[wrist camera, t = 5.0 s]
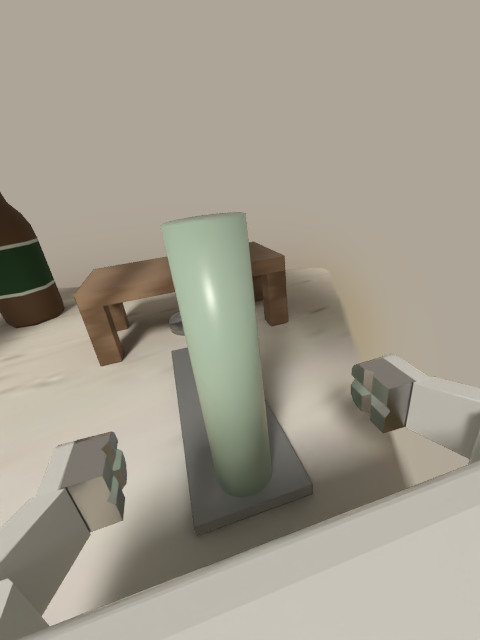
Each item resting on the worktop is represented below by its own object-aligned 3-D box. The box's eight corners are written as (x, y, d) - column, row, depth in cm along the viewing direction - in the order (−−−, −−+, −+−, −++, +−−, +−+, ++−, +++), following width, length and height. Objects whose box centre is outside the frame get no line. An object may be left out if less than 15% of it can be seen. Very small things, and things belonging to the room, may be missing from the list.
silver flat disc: (173, 342, 32) (170, 331, 32) (170, 322, 37) (167, 312, 37) (222, 330, 33) (220, 320, 33) (212, 313, 38) (211, 303, 38)
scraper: (312, 494, 15) (307, 209, 9) (197, 537, 14) (106, 240, 8) (231, 344, 30) (210, 200, 24) (173, 358, 29) (135, 210, 23)
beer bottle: (3, 334, 39) (-107, 123, 29) (9, 317, 45) (-80, 138, 35) (67, 316, 43) (-12, 122, 33) (64, 302, 49) (-3, 136, 39)
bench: (100, 366, 29) (73, 295, 26) (112, 325, 38) (93, 269, 34) (287, 322, 33) (284, 255, 30) (258, 294, 42) (253, 241, 38)
